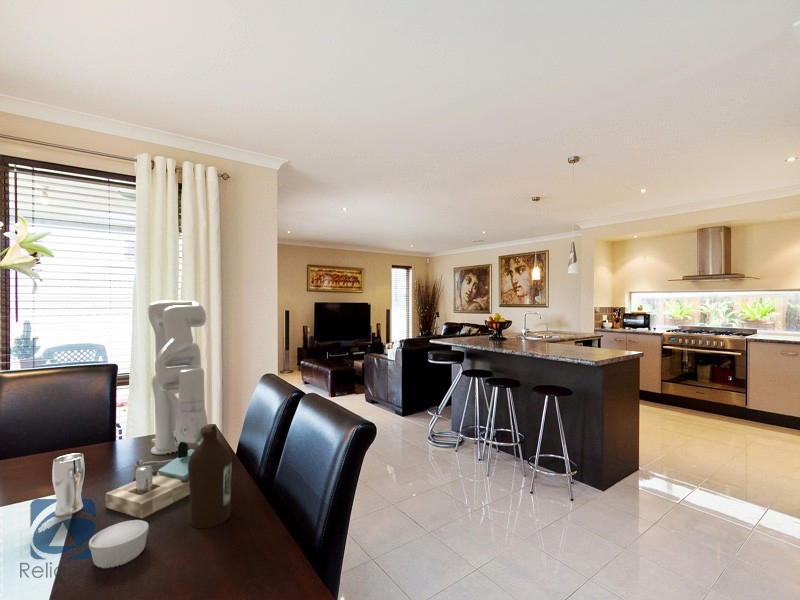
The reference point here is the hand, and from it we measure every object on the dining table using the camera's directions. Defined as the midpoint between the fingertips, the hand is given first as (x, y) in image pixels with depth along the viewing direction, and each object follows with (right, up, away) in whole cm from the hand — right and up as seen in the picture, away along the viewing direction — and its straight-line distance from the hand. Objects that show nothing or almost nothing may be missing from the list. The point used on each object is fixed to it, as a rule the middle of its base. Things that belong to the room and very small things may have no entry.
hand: (193, 458), depth 127 cm
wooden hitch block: (-5, -7, -9) cm, 13 cm away
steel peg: (-7, -7, -14) cm, 17 cm away
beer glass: (-26, -8, -17) cm, 32 cm away
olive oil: (+17, -7, -23) cm, 30 cm away
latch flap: (-1, -2, -1) cm, 2 cm away
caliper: (-15, -8, +10) cm, 20 cm away
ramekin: (+3, -7, -38) cm, 39 cm away
